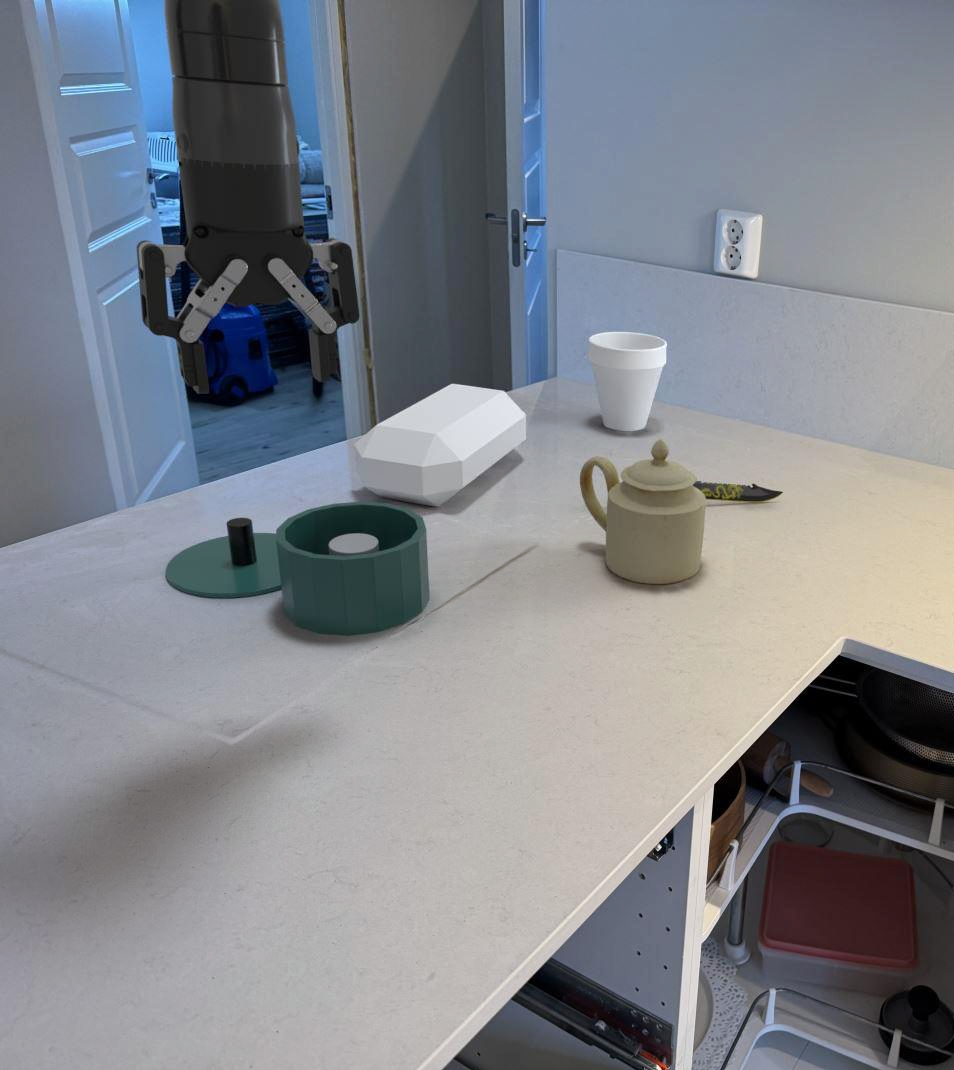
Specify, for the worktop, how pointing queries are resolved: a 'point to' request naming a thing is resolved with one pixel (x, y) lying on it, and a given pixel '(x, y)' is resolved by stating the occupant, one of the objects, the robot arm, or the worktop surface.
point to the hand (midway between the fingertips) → (262, 385)
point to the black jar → (353, 545)
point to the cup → (626, 376)
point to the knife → (736, 492)
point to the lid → (228, 564)
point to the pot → (353, 569)
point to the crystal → (439, 444)
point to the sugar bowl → (649, 518)
